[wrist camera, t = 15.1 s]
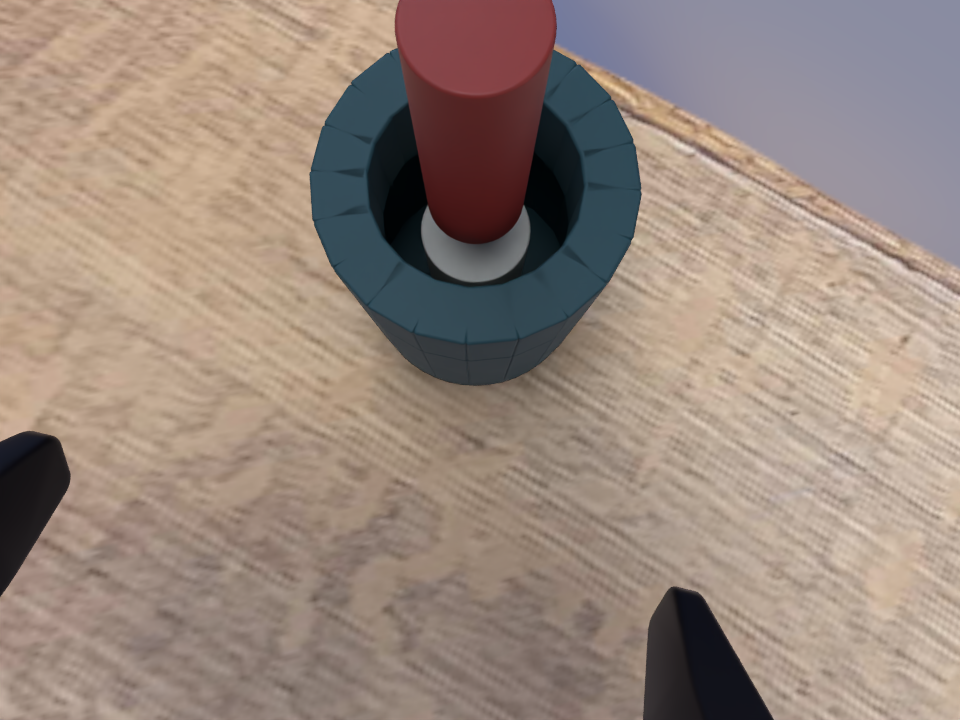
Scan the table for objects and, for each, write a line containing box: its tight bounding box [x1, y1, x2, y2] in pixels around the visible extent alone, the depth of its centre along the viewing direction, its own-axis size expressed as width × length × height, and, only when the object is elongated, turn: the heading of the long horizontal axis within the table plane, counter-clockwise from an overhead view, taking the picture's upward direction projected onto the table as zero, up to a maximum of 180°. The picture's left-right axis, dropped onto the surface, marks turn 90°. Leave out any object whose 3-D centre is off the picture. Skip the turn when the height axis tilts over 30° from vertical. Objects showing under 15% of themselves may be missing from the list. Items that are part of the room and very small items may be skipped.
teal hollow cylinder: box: [310, 48, 642, 386], centre depth 19 cm, size 7×7×9 cm
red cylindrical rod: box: [395, 0, 557, 287], centre depth 16 cm, size 3×3×13 cm
